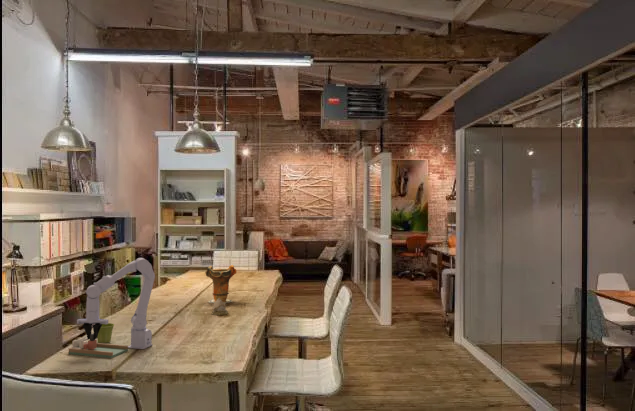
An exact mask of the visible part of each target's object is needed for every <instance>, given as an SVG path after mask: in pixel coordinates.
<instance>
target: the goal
mask: <svg viewBox="0 0 635 411" xmlns="http://www.w3.org/2000/svg"><path fill="white" fill-rule="evenodd" d="M89 340H90V339H88V338H87V336H84V337H81V338H78V339H74V340H72V348H74V349H82V344H83V341H89ZM80 342H81V346H80V347H79V343H80Z"/></svg>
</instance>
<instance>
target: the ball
mask: <svg viewBox="0 0 635 411" xmlns="http://www.w3.org/2000/svg"><path fill="white" fill-rule="evenodd" d="M86 343H88V340H86V341H83V344H82V349H84V344H86ZM80 346H81V342H80V343H79V347H80Z"/></svg>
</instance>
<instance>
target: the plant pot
mask: <svg viewBox="0 0 635 411" xmlns="http://www.w3.org/2000/svg"><path fill="white" fill-rule="evenodd" d="M114 326H115V324H114V323H110V322H108V324H102V326H101V328H100V330H99V333H98V337H97V339H96V340H97V343H103V344H109V343H110V342H111V341H112V335H113V329H114Z"/></svg>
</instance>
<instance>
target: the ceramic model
mask: <svg viewBox="0 0 635 411" xmlns="http://www.w3.org/2000/svg"><path fill="white" fill-rule="evenodd" d="M212 304H213V307H212V310H211V315H213V316H221V315H222V316H223V315H227V314H229V310H227V305H226V303H223V302H222V300H220V298H218V299H217V300H216V301H215V303H212Z"/></svg>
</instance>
